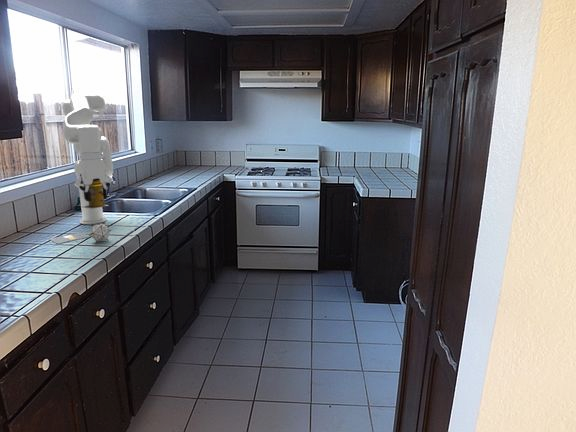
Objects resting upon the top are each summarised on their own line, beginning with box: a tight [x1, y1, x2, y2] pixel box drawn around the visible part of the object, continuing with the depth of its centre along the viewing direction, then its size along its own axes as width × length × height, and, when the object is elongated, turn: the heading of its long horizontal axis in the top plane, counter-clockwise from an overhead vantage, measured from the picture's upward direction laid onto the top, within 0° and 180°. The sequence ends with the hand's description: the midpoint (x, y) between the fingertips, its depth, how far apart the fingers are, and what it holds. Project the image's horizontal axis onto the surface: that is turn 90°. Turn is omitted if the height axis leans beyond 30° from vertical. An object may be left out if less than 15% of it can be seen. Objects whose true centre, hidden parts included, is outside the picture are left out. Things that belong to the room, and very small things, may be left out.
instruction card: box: [48, 231, 92, 245], centre depth 186 cm, size 10×14×1 cm
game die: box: [88, 221, 112, 244], centre depth 181 cm, size 9×8×10 cm
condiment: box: [82, 178, 110, 209], centre depth 176 cm, size 7×8×12 cm
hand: (96, 199), depth 177 cm, fingers closed on condiment, 6 cm apart
